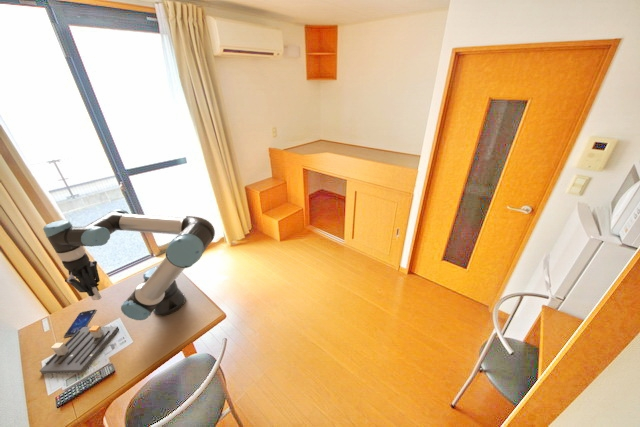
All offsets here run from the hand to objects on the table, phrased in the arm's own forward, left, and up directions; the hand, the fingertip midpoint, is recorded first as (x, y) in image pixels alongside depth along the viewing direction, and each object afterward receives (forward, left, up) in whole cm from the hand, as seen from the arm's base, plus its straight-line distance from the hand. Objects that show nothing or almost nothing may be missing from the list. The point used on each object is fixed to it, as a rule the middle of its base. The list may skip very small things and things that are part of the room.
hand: (97, 298), depth 107 cm
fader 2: (0, +7, -16) cm, 17 cm away
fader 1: (+8, +15, -16) cm, 23 cm away
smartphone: (+16, -2, -19) cm, 25 cm away
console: (+3, +12, -18) cm, 22 cm away
